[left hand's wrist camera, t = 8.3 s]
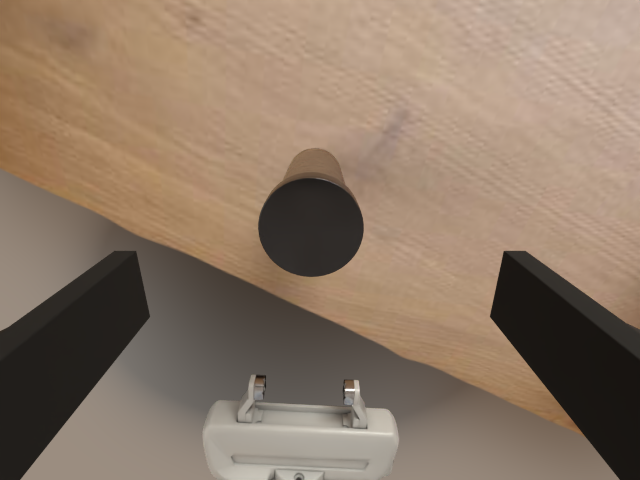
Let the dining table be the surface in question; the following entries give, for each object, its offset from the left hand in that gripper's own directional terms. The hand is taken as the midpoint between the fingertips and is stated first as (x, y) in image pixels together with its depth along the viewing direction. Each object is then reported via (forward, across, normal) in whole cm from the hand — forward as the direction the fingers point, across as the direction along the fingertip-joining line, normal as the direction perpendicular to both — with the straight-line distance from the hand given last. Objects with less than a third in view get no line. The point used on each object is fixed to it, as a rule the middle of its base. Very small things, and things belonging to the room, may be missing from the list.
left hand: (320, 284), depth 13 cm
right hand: (+16, +2, +20) cm, 25 cm away
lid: (+7, 0, 0) cm, 7 cm away
